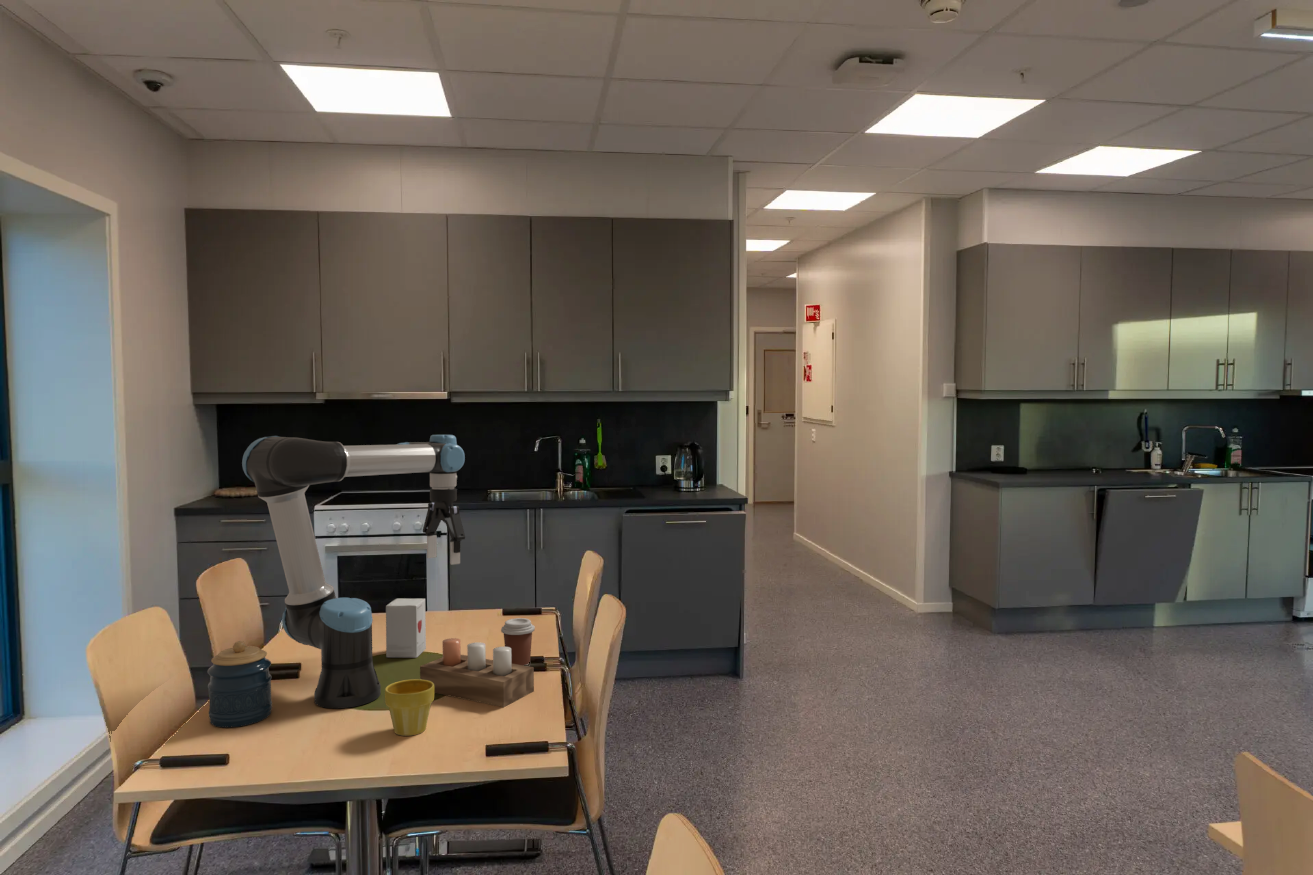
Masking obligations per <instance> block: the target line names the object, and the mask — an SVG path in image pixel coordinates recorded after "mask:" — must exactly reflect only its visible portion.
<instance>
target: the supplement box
mask: <svg viewBox="0 0 1313 875" xmlns="http://www.w3.org/2000/svg"><path fill="white" fill-rule="evenodd" d="M426 626H427V625H426V598H395V599H393V600H392V601H391V602H389V603H388V604H387V605H385V641H386V642H385V645H386V646H385V651H386V653H385V654H386V656H385V657H386V658H401V659H402V658H410V659H411V658H414V659H415V658H416V659H417V658H418V657H419V656H420V655H421V654H423V652H424V651H425V650H426V649H427V645H426V644H427V643H426V642H427V637H426V636H427V632H426V631H427V628H426Z"/></svg>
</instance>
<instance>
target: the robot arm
mask: <svg viewBox="0 0 1313 875" xmlns="http://www.w3.org/2000/svg"><path fill="white" fill-rule="evenodd" d="M465 455H466V454H465V451H464V450H463V448H462V447H461V446H460V445H458V443H457V437H456V436H455V435H453V434H432V435H430V438H429V441H426V442H424V441H423V442H422V441H421V442H419V441H417V442H416V441H414V442H411V441H410V442H408V441H405V442H399V443H397V444H371V445H370V444H366V445H365V444H363V445H362V444H361V445H359V444H358V445H343V443H341V442H339V441H322V440H315V439H308V438H302V437H296V436H295V437H290V436H289V437H288V436H287V437H286V436H278V435H271V436H264V437H259V438H257V439H256V440H254V441H253V442H251V443H250V444H249V446H247V448H246V450H245V451H244V453H243V456H242V462H241V464H242V465H241V466H242V471H243V472H244V474H245V476H246V477H247V478H248V480H250V481H251V482H253V483H254V486H255V488H256V489H255V490H256V493H257V497H258V498H259V499H261V500H263V501H264V502H266V503H267V507H268V512H269V515H270V516H269V517H270V520H271V524H272V528H273V532H274V536H275V540H276V544H277V547H278V552H279V556H280V560H281V563H282V564H281V565H282V568H283V571H284V572H283V573H284V575H285V580H286V584H287V588H288V593H287V596H286V597H285V598H284V604H285V608H284V611H283V613H282V615H281V616H282V617H281V622H282V623H281V624H282V628H283V630H284V631H285V633H286V635H287V636H288V637H289V638H291V639H292V640H294V641H295V642H296V643H298V644H301V645H304V646H311V647H312V648H315V649H319V650H320V651H321V652H320V655H321V656H320V657H321V660H320V661H321V671H320V674H319V677H318V682H317V685H316V688H315V689H314V693H313V694H314V698H313V699H314V704H315V705H316V706H318V707H320V708H325V709H347V708H355V707H358V706H363V705H366V704H369V703H372V702H373V701H375V700H377V699H378V698H379V697H380V696H381V694H382V693H381V683H380V680H379V678H378V675H377V671H376V669H375V666H374V662H373V621H374V620H373V612H372V607H371V605H370V604H369V603H368V602H367V601H365V600H363V599H360V598H357V597H351V598H350V597H336V593H335V588H334V586H333V585H331V584H329V583H327V582H326V580H325V574H324V570H323V567H322V563H321V557H320V553H319V551H318V550H319V549H318V545H317V541H316V536H315V533H314V528H313V524H312V521H311V516H310V511H309V508H308V503H307V499H306V495H305V494H306V491H307V490H308V488H309V487H310V486H311V485H318V484H325V483H335V482H341V481H342V480H344V478H346V477H349V478H350V477H363V476H364V477H365V476H379V475H398V474H401V475H402V474H412V473H413V474H414V473H429V487H430V489H429V501H430V502H428V503H427V512H426V516H425V520H424V524H423V528H422V533H423V534H425V536H426V559H433V558H434V559H435V558H437V554H438V553H437V548H438V547H437V545H438V544H437V540H438V539H437V538H438V537H437V530H438V528H439V526H440V525H441V522H442V523H444V524H445V525H446V528H447V530H448V533H449V536H450V538H451V539H450V541H449V545H450V546H449V549H450V552H449V553H450V556H449V557H450V558H449V560H450V561H449V563H450V565H452V566H454V565H460V564H461V542H462V541H463V540H466V535H465V530H464V527H463V523H462V518H461V514H460V507H459V505H455V506H454V504H453V503H454V502H456V501H457V498H458V496H457V493H458V491H457V488H456V486H457V485H458V484H457V482H458V481H457V480H458V475H457V473H458V471H459V470H461V468H462V467H463V466H464V464H465V460H466V459H465V458H466V457H465Z"/></svg>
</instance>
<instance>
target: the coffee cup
mask: <svg viewBox="0 0 1313 875" xmlns="http://www.w3.org/2000/svg"><path fill="white" fill-rule="evenodd" d="M535 628H536V626H535V625H534V624H532V621H531V619H529V618H523V617H518V618H517V617H516V618H510V619H507V620H505V622H504V625H503V626H501V629H500V632H501V633H502V634H503V641H504V647H510V648H511V663H512V664H518V665H523V666H524V665H528V664H529V662H530V663H531V655H532V654H531V653H532V639H533V632H535Z"/></svg>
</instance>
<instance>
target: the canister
mask: <svg viewBox="0 0 1313 875" xmlns="http://www.w3.org/2000/svg"><path fill="white" fill-rule="evenodd" d="M267 654H268V653H267V651H266V650H264V649H262V648H260V647H258V646H254V645H246V643H245V642H244V641H241V640H238V641H235V642H234V643H233V645H232V647H230V648H227V649H224V650H221V651H220V652H218V654H217V655H214V657H212V658H211V663H212V664H213V665H211V666H210V667H209V668H208V669H207V671H206V672H207V675H209V676H210V678H209V679H210V680H209V682H208V685H207V688H208V700H209V701H208V703H209V704H208V706H209V709H208V719H209V722H210V725H212V726H214V727H217V728H238V727H243V726H248V725H249V726H250V725H251V724H252V725H253V724H256V723H258V722H261V721H263V720H266V719H267V718H268V717H269V716H271V713H272V709H273V701H272V684H271V683H272V674H270V670H269V668H270V667H271V665H272V661H271V660H270V659H268V658H266V657H267Z"/></svg>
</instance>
